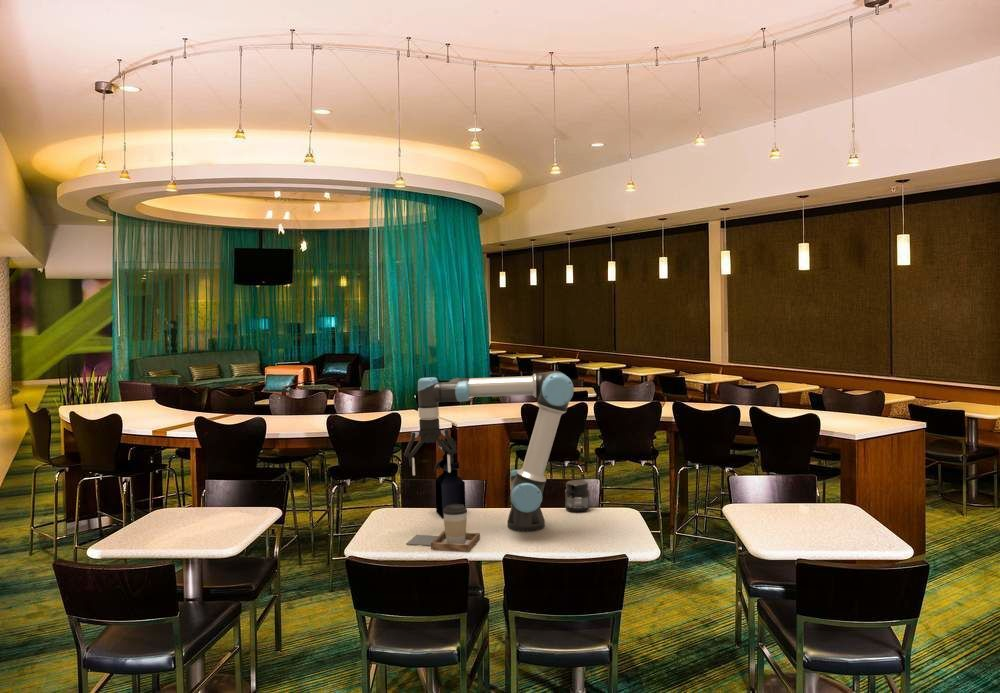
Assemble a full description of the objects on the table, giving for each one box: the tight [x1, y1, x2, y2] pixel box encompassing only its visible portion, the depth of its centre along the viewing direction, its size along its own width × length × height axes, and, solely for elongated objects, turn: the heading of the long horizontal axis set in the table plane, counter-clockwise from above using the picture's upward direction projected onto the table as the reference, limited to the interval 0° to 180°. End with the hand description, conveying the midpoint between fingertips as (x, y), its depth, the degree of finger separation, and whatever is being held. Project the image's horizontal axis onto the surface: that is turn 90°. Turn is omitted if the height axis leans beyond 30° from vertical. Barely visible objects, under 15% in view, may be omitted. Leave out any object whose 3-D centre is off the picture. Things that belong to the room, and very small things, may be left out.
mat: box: [405, 534, 439, 547], centre depth 276 cm, size 11×11×1 cm
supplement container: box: [564, 479, 590, 514], centre depth 314 cm, size 10×10×12 cm
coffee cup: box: [443, 504, 468, 544], centre depth 271 cm, size 9×9×15 cm
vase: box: [433, 433, 466, 520], centre depth 312 cm, size 14×12×35 cm
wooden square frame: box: [430, 530, 481, 553], centre depth 271 cm, size 14×14×2 cm
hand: (431, 473), depth 278 cm, fingers open, 13 cm apart
